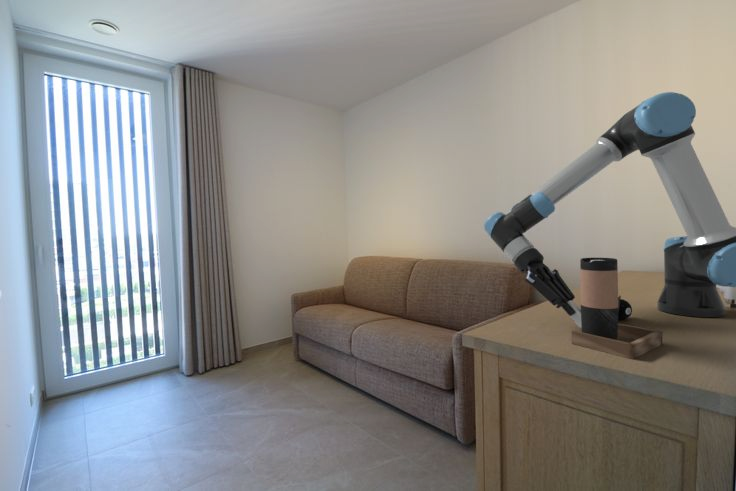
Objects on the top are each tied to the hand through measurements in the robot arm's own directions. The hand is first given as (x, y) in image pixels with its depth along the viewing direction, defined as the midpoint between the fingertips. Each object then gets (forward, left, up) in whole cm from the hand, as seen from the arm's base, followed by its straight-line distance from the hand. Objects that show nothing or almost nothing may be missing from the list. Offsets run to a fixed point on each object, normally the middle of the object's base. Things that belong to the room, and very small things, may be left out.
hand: (585, 324), depth 87 cm
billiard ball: (-24, -3, -4) cm, 24 cm away
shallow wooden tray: (0, +6, -3) cm, 7 cm away
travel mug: (0, +3, -3) cm, 5 cm away
